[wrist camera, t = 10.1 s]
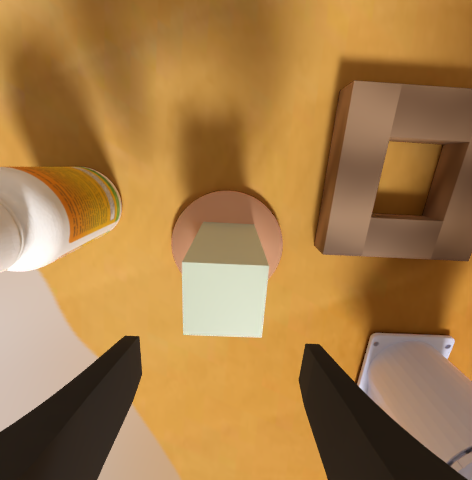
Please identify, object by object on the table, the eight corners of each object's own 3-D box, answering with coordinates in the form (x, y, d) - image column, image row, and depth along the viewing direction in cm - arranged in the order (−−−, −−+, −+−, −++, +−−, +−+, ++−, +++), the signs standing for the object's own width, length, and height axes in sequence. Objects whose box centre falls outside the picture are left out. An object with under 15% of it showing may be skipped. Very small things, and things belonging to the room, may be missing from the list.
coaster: (275, 294, 21) (276, 298, 20) (174, 290, 21) (173, 293, 20) (287, 193, 18) (289, 194, 18) (171, 187, 18) (169, 187, 17)
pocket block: (445, 252, 20) (468, 261, 18) (314, 245, 20) (323, 254, 18) (498, 101, 16) (533, 93, 15) (339, 90, 16) (354, 80, 14)
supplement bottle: (75, 150, 17) (-112, 131, 8) (137, 198, 18) (38, 231, 9) (41, 206, 18) (-156, 247, 9) (101, 247, 19) (-19, 322, 10)
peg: (250, 270, 20) (261, 337, 12) (202, 268, 19) (183, 334, 12) (254, 224, 18) (269, 265, 11) (203, 221, 18) (181, 261, 11)
